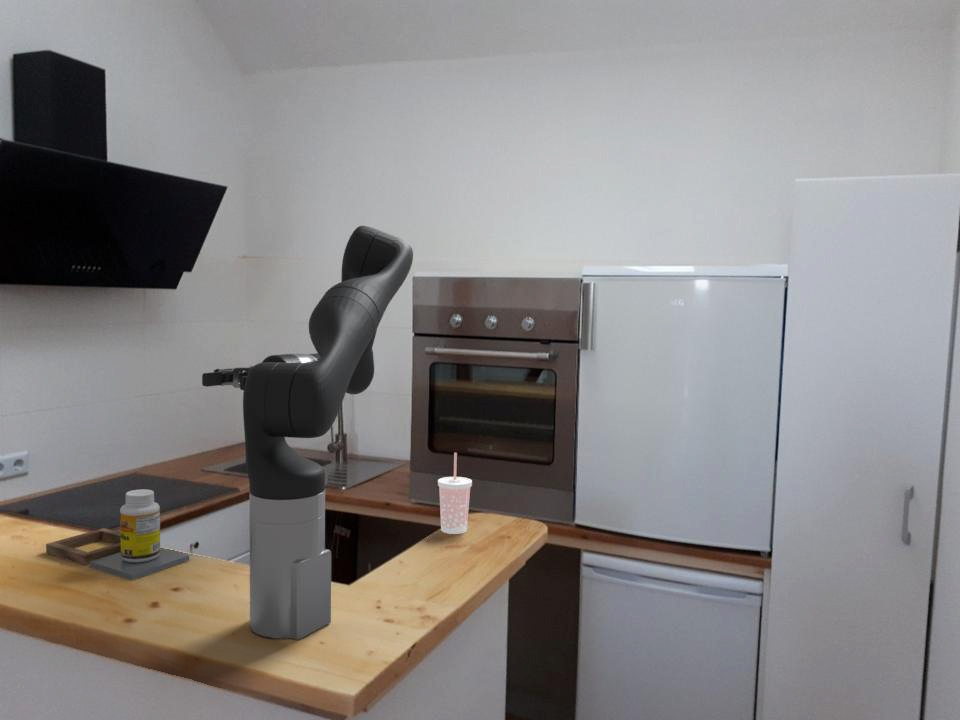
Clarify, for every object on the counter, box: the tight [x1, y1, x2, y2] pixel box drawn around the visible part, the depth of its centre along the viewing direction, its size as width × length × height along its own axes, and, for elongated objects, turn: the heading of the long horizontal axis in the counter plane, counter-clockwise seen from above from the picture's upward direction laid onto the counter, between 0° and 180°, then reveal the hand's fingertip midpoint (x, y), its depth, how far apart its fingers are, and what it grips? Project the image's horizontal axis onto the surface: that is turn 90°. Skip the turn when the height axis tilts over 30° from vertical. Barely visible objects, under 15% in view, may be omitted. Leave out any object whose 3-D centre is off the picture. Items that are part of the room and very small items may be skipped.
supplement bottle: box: [119, 488, 161, 563], centre depth 120 cm, size 6×6×10 cm
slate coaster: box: [89, 546, 190, 581], centre depth 120 cm, size 10×10×1 cm
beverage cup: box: [437, 452, 473, 535], centre depth 140 cm, size 6×6×14 cm
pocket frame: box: [45, 527, 121, 566], centre depth 126 cm, size 10×10×2 cm
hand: (222, 381), depth 128 cm, fingers open, 8 cm apart
